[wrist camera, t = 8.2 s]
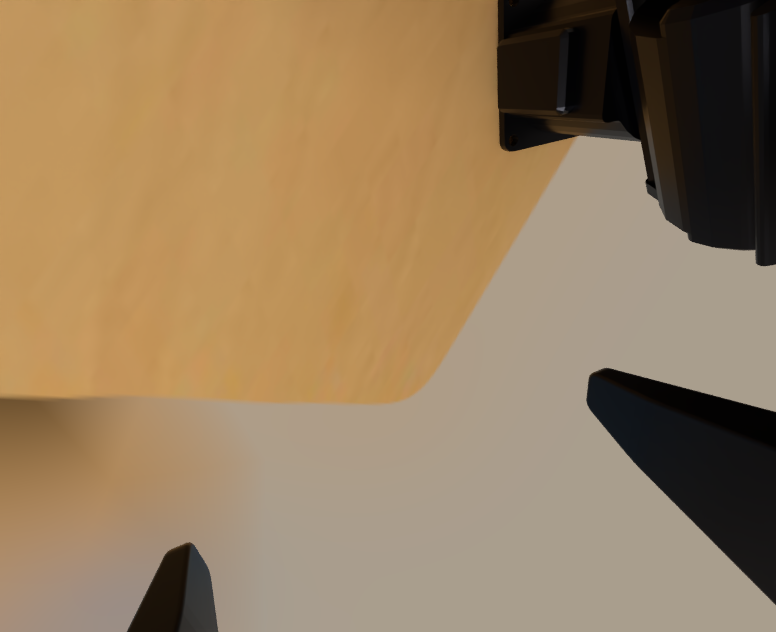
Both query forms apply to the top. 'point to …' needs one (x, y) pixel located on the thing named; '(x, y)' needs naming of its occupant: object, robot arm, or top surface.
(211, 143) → the top surface
